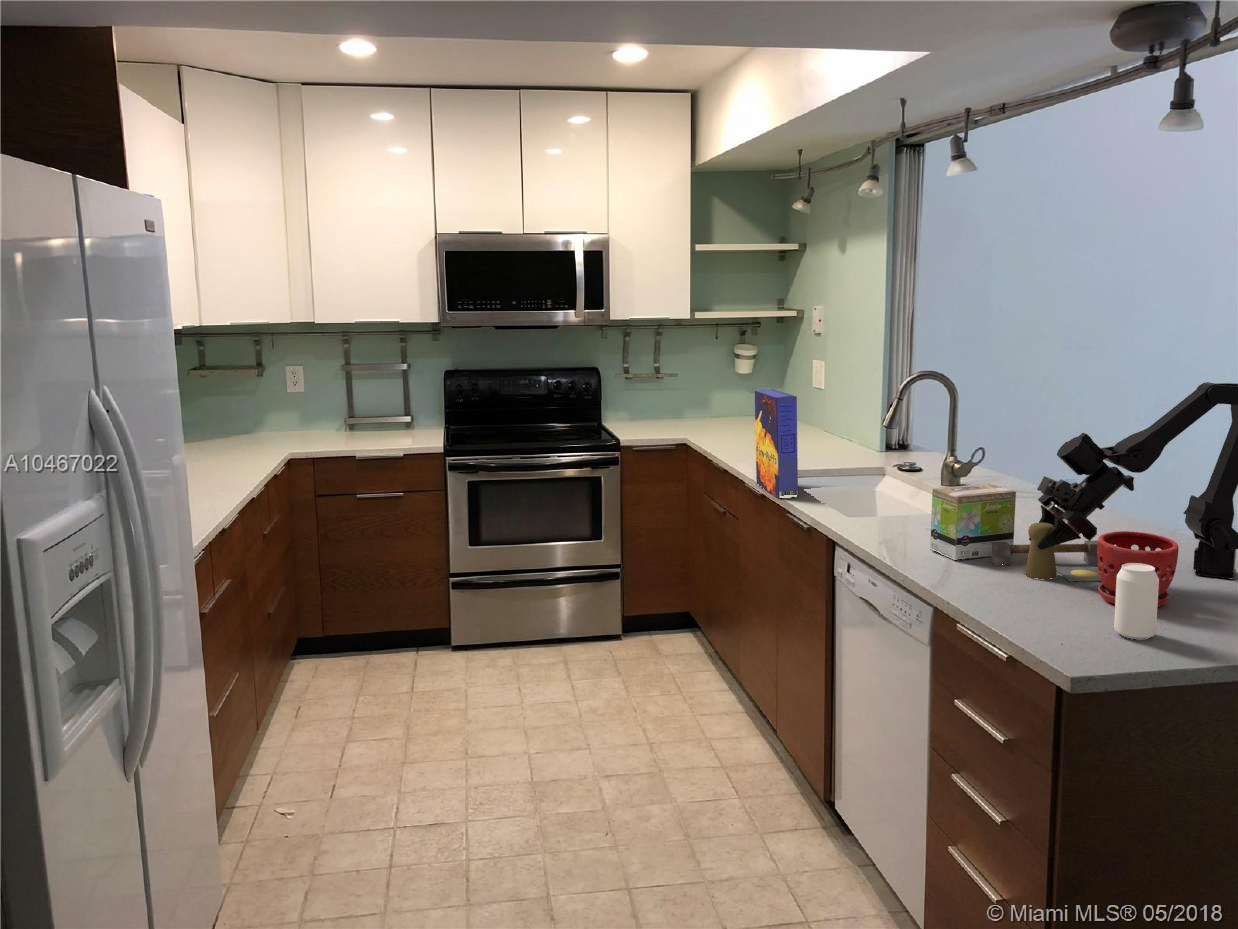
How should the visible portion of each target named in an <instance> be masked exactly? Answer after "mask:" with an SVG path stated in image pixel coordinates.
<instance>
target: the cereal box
mask: <svg viewBox="0 0 1238 929" xmlns="http://www.w3.org/2000/svg"><path fill="white" fill-rule="evenodd" d="M797 398H798V396H797V395H793V394H789V393H787V392H782V391H780V390H775V389H769V388H768V389H767V388H764V389H758V390H754V419H755V422H754V423H755V424H754V425H755V426H754V427H755V431H754V432H755V465H756V466H755V471H756V472H755V473H756V479H755V480H756V484H757V483H758V484H759V486H762V488H761V489H762V490H763V488H764V489H765V490H764V491H765V492H767V493H768V494H770V495H771V496H773V498H776V499H777V500H780V499H779V497H780V496H784V495H798V496H799V481H798V480H799V477H798V476H799V475H798V473H799V472H798V470H799V469H798V468H799V466H798V462H799V461H798V459H799V458H798V403H797V402H798V399H797ZM759 486H758V487H759Z"/></svg>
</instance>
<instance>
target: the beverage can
mask: <svg viewBox="0 0 1238 929" xmlns="http://www.w3.org/2000/svg"><path fill="white" fill-rule="evenodd" d="M1158 589H1159V578H1158V576H1157V574H1156V572H1155V568H1154V567H1153V566H1150V565H1147V564H1141V563H1127V564H1123V565H1122V568H1121V570H1120V571H1119V573H1118V574H1117V580H1116V600H1115V604H1114V626H1113V628H1114V631H1115V632H1116V633H1118V634H1119V635H1120V634H1121V635H1122V636H1121V635H1120V636H1121V637H1123V636H1124V637H1123V638H1125V637H1127V638H1126V639H1128V638H1131V639H1130V640H1133V639H1136V640H1135V641H1144V640H1148V639H1149V638H1152V637H1154V636H1156V632H1157V620H1158V607H1157V606H1158Z"/></svg>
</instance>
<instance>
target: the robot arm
mask: <svg viewBox="0 0 1238 929" xmlns="http://www.w3.org/2000/svg"><path fill="white" fill-rule="evenodd" d="M1217 405H1230V413H1231V424H1230V427H1229V430H1228V432H1227V434H1226V437H1225V440H1224V442H1223V444H1222V447H1221V450H1220V453H1219V455H1218V457H1217V460H1216V462H1215V466H1214V468H1213V471H1212V472H1211V476H1210V478H1209V481H1208V484H1207V486H1206V488H1205V490H1204V491H1203V492H1202V493H1201V494H1200V495H1199V496H1195V495H1193V494H1192V495H1190V497H1189V500H1188V505H1187V508H1186V509H1185V510H1184V511H1183V514H1184V515H1185V518H1184V523H1185V524H1186V526H1187V528H1188V529H1189V531H1191V532H1192V533H1193V536H1194V539H1195V540H1199V541H1198V544H1197V545H1198V546H1196V547H1195V549H1194V552H1193V566H1192V569H1193V571H1194V575H1195V576H1200V575H1201V577H1208V576H1209V577H1210V578H1217V577H1221V578H1220V579H1225V578H1234V579H1235V575H1236V572H1237V571H1236V570H1237V569H1236V556H1237V550H1238V532H1237V531H1236V530H1235V528H1233V524H1234V519H1235V509H1234V508H1235V507H1234V496H1235V494H1236V491H1237V488H1238V383H1234V382H1233V383H1231V382H1228V383H1227V382H1223V383H1216V382H1215V383H1214V382H1209V381H1208V382H1203V383H1201V384H1199V385H1198V386H1197V387H1196V389H1195V390H1194V391H1192V392H1191V393H1190V394H1189V395H1188V396H1186V397H1185V398H1184V399H1182V400H1181V401H1180V402H1178V403H1177V404H1176V405H1174V407H1173V408H1171V409H1170V410H1169V411H1168V412H1166V413H1165V414H1164V415H1162V416H1161V417H1160V418H1159V419H1157V420H1156V421H1155V422H1154V423H1152V424H1151V425H1150V426H1149V427H1147V428H1145V429H1143V430H1140V431H1136V432H1135V433H1132V434H1131V435H1129V436H1127V437H1125V438H1123V439H1122V440H1120V441H1117V443H1115V444H1114V445H1112V446H1106V447H1105V446H1104V447H1100V446H1099V445H1098V444H1097V443H1095V441H1094V440H1093V438H1092V437H1091V436H1090V435H1089V434H1087V433H1085V432H1082V433H1081V434H1080V435H1077V436H1075V437H1072V438H1071V439H1069V440H1068V441H1065V442H1064V443H1063V444H1062V445H1061V446H1060V448H1059V449H1058V450H1057V453H1056V455H1057V458H1059V459H1060V460H1061V461H1062V462H1064V464H1065V465H1066V466H1067V467H1068V468H1070V470H1072V472H1073V473H1075V474H1076V475H1077V476H1083V475H1085V476H1086V477H1085V478H1084V479H1082V480H1081V481H1080V482H1079V483H1078V482H1076V481H1075V482H1072V483H1070V482H1069V481H1065V480H1064V479H1059V480H1058V481H1057V480H1055V479H1052V478H1050V477H1047V476H1045V475H1044V476H1043V478H1042V480H1041V481H1040V483H1039V485H1038V487H1037V488H1036V490H1037V491H1038V492H1041V494H1042V495H1041V496H1040V497H1039V498H1038V499H1037V501H1038V502H1039V503H1040V509H1041V517H1040V520H1039V521H1038V523H1049V524H1052V525H1054V526H1053V527H1052V529H1051V530H1050V531H1049V532H1048V533H1047V534H1046V535H1045V537H1044V538H1043V539H1042V540H1041V541H1040V543H1039V544H1038V545H1037V547H1038V548H1039V549H1040V550H1043V549H1046V548H1049V547H1052V546H1055V545H1058V544H1065V543H1068V542H1071V541H1074V540H1082V537H1083V538H1085V540H1086V541H1092V540H1093V538H1095V537H1096V536H1097V534H1098V527H1096V526H1095V524H1093V522H1091V521H1090V519H1088V517H1089V516H1091V515H1092V514H1093V513H1094V512H1095V511H1096V510H1097V509H1098V510H1103V509H1104V508H1105V505H1104V504H1103V503H1105V502H1106V501H1107V500H1109V498H1110V497H1111V496H1112V495H1113V494H1115V493H1116V492H1117V491H1118V490H1119V489H1120V488H1121V487H1123V488H1124V489H1127V490H1128V491H1131V492H1133V491H1135V484H1134V481H1135V477H1134V476H1132V475H1129V474H1128V475H1125V473H1123V472H1122V471H1121V470H1120V469H1119V468H1121V469H1124V470H1126V471H1128V472H1131V473H1136V474H1139V473H1144V472H1145V471H1147V470H1149V469H1150V468H1151V467H1152V466H1153V464H1154V463H1155V462H1156V461H1157V460H1158V459H1159V457H1161V455H1162V453H1163V452H1164V451H1163V450H1164V449H1165V447H1166V446H1167V445H1168V444H1169V443H1170V442H1171V441H1173V440H1174V439H1175V438H1176V437H1177V436H1179V435H1180V434H1182V433H1184V431H1186V430H1187V429H1188V428H1190V426H1192V425H1193V424H1194V423H1196V422H1197V421H1198V420H1200V419H1201V418H1202V417H1203V416H1205V415H1206V414H1207V413H1208V412H1209V411H1211V410H1212V409H1213V408H1215V407H1217ZM1105 461H1107V462H1109V463H1111V464H1112V465H1115V466H1109V464H1107V463H1106V462H1105ZM1080 535H1082V537H1081V536H1080ZM1028 540H1029V542H1031V538H1030V537H1029V538H1028ZM1209 577H1208V578H1209Z"/></svg>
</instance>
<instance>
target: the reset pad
mask: <svg viewBox="0 0 1238 929" xmlns="http://www.w3.org/2000/svg"><path fill="white" fill-rule="evenodd" d="M1056 572H1057V573H1058V572H1059V573H1058V574H1059V575H1060V574H1061V575H1062V576H1063V577H1064V578H1063V577H1062V576H1061V575H1060V576H1061V577H1062V578H1063V579H1065V578H1066V579H1067V580H1068V581H1070V582H1069V583H1072V582H1071V581H1078V582H1077V583H1102V580H1101V578H1100V575H1099V571H1098V566H1093V567H1092V566H1088V567H1087V566H1082V567H1081V566H1079V567H1077V566H1076V567H1064V566H1063V567H1056ZM1066 579H1065V580H1066ZM1067 580H1066V581H1067ZM1068 581H1067V582H1068ZM1082 581H1083V582H1082Z"/></svg>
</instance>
